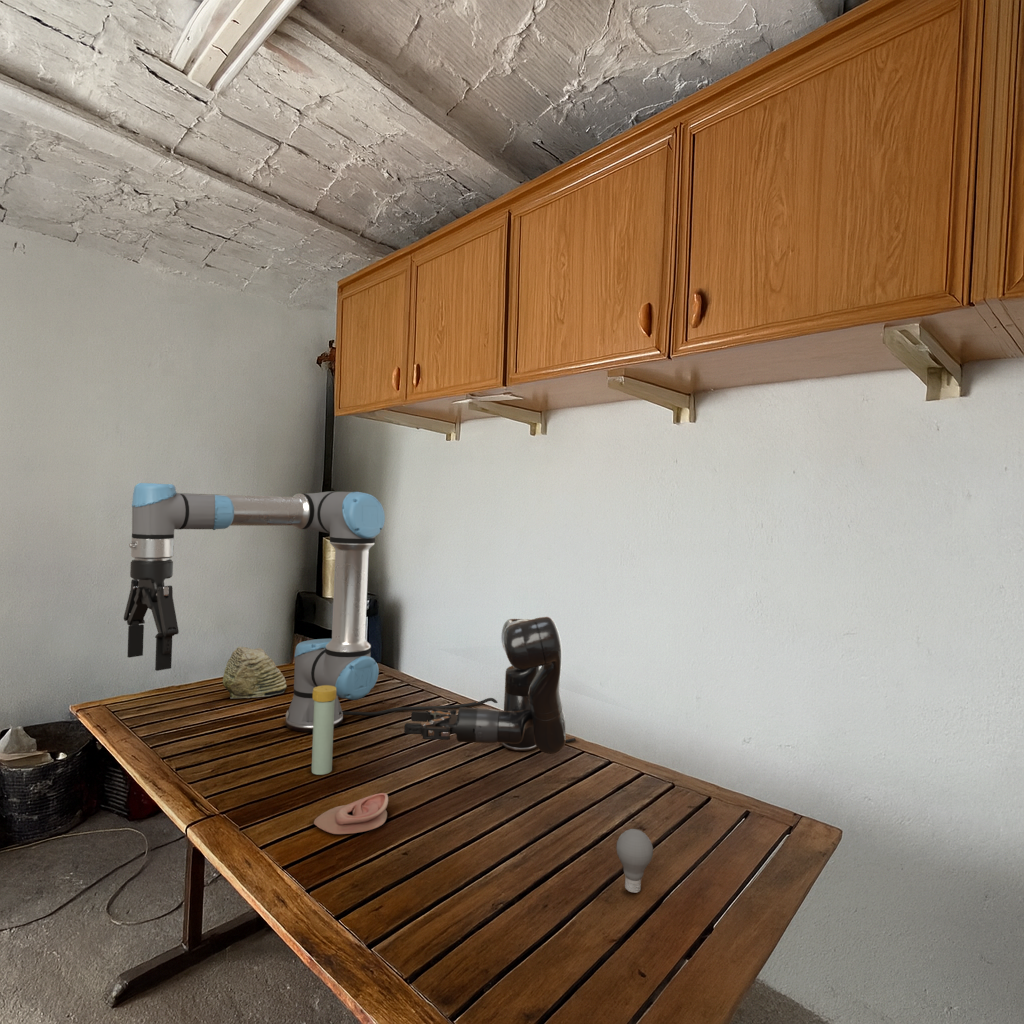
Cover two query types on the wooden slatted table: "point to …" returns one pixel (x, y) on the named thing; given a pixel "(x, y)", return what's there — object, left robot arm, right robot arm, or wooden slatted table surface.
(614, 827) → the wooden slatted table surface
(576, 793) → the wooden slatted table surface
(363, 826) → the anatomical model
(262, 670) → the fossil
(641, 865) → the light bulb
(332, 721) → the pale green cylindrical bottle
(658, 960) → the wooden slatted table surface
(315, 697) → the lid
